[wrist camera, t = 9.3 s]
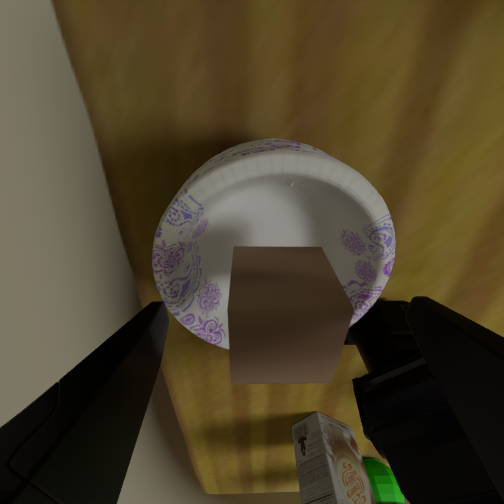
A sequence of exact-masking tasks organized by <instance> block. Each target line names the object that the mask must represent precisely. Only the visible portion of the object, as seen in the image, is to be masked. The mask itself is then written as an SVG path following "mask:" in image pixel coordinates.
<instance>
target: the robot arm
mask: <svg viewBox="0 0 504 504" xmlns="http://www.w3.org/2000/svg"><path fill="white" fill-rule="evenodd" d="M168 325H169V317H168V313H167V309H166V305H165V303H164V302H163V301H153V302H151V303H150V304H148V305H147V306H146V307H145V308H144V309H143V310H142V311H140V312H139V313H138V314H137V315H135V316H134V317H133V318H132V319H131V320H130V321H128V322H127V323H126V324H125V325H124V326H122V327H121V328H120V329H119V330H118V331H117V332H116V333H114V334H113V335H112V336H111V337H109V338H108V339H107V340H106V341H105V342H104V343H102V344H101V345H100V346H99V347H98V348H97V349H95V350H94V351H93V352H92V353H91V354H90V355H88V356H87V357H86V358H85V359H83V360H82V361H81V362H80V363H79V364H78V365H76V366H75V367H74V368H73V369H72V370H71V371H70V372H68V373H67V374H66V375H65V376H63V377H62V378H61V379H60V380H59V382H56V383H55V384H54V385H53V386H52V387H50V388H49V389H48V390H47V391H46V392H44V393H43V394H42V395H41V396H40V397H38V398H37V399H36V400H35V401H33V402H32V403H31V404H30V405H29V406H27V407H26V408H25V409H24V410H22V411H21V412H20V413H19V414H17V415H16V416H15V417H13V418H12V419H11V420H10V421H9V422H7V423H6V424H4V425H3V426H2V427H0V504H117V501H118V498H119V495H120V492H121V488H122V485H123V482H124V479H125V476H126V472H127V469H128V466H129V463H130V460H131V457H132V453H133V450H134V447H135V444H136V441H137V438H138V435H139V431H140V428H141V425H142V422H143V419H144V415H145V412H146V409H147V406H148V403H149V400H150V397H151V394H152V390H153V387H154V384H155V381H156V378H157V375H158V371H159V368H160V364H161V360H162V355H163V350H164V345H165V340H166V335H167V330H168ZM344 345H356V346H357V348H358V351H359V353H360V355H361V357H362V359H363V362H364V364H365V366H366V368H367V370H368V372H369V374H366V375H364V376H362V377H359V378H355V379H352V381H353V386H354V388H353V389H354V393H355V397H356V401H357V406H358V410H359V414H360V418H361V422H362V426H363V432H364V435H365V437H366V438H367V439H368V440H370V441H371V442H372V443H373V445H374V447H375V448H376V450H377V451H378V453H379V454H380V455H381V456H382V457H383V458H384V459H387V461H388V463H389V465H390V467H391V470H392V472H393V474H394V477H395V479H396V481H397V484H398V486H399V488H400V491H401V493H402V494H403V496H404V497H405V498H406V499H407V500H408V501H409V502H410V504H504V337H502V336H500V335H498V334H496V333H494V332H493V331H491V330H489V329H487V328H485V327H483V326H481V325H479V324H477V323H476V322H474V321H472V320H470V319H468V318H466V317H464V316H462V315H461V314H459V313H457V312H455V311H453V310H451V309H449V308H447V307H445V306H444V305H442V304H440V303H438V302H436V301H434V300H432V299H430V298H429V297H426V296H416V297H413V298H412V300H411V302H410V303H409V302H375V303H374V304H373V305H372V307H371V308H370V309H369V310H368V311H367V312H366V313H365V314H364V315H363V316H362V317H361V318H360V319H359V320H358V321H357V322H355V323H354V324H353V325H351V326H350V327H349V329H348V332H347V335H346V338H345V342H344Z"/></svg>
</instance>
